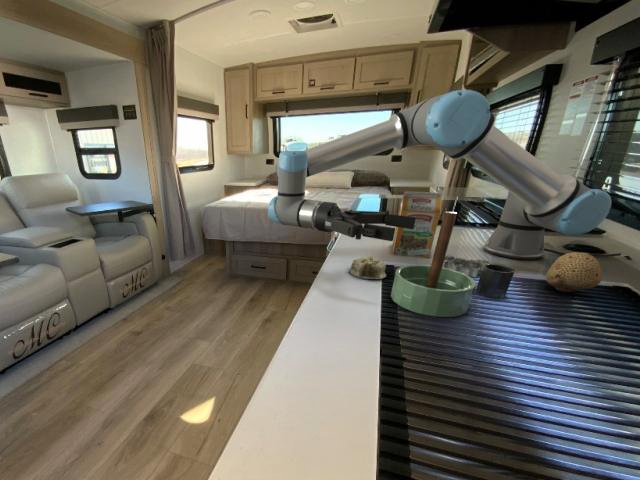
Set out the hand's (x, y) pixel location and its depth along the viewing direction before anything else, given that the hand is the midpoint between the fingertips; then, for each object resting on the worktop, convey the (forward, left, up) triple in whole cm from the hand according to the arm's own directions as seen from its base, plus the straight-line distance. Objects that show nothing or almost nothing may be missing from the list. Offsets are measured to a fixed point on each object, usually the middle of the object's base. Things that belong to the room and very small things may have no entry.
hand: (404, 228), depth 74 cm
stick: (-7, +5, -15) cm, 17 cm away
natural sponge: (-42, -5, -16) cm, 45 cm away
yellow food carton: (-15, -35, -16) cm, 41 cm away
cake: (+3, -12, -16) cm, 20 cm away
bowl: (-7, +5, -16) cm, 18 cm away
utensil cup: (-23, -1, -16) cm, 28 cm away
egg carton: (-23, -17, -16) cm, 33 cm away
